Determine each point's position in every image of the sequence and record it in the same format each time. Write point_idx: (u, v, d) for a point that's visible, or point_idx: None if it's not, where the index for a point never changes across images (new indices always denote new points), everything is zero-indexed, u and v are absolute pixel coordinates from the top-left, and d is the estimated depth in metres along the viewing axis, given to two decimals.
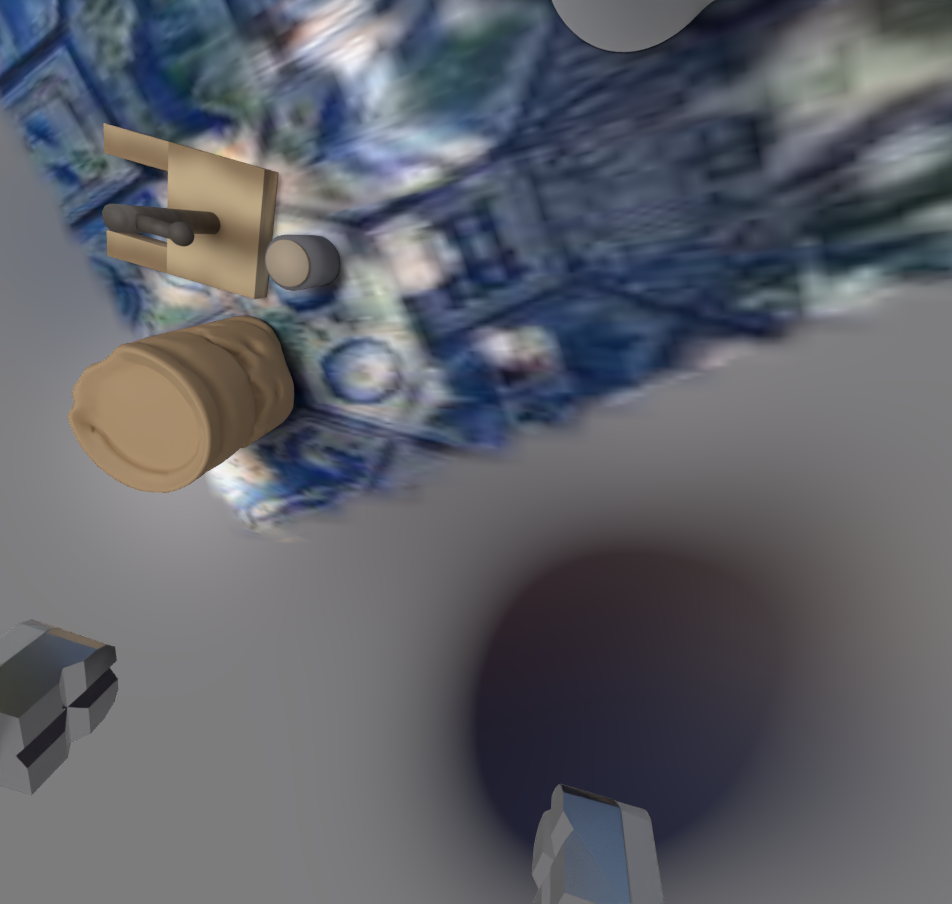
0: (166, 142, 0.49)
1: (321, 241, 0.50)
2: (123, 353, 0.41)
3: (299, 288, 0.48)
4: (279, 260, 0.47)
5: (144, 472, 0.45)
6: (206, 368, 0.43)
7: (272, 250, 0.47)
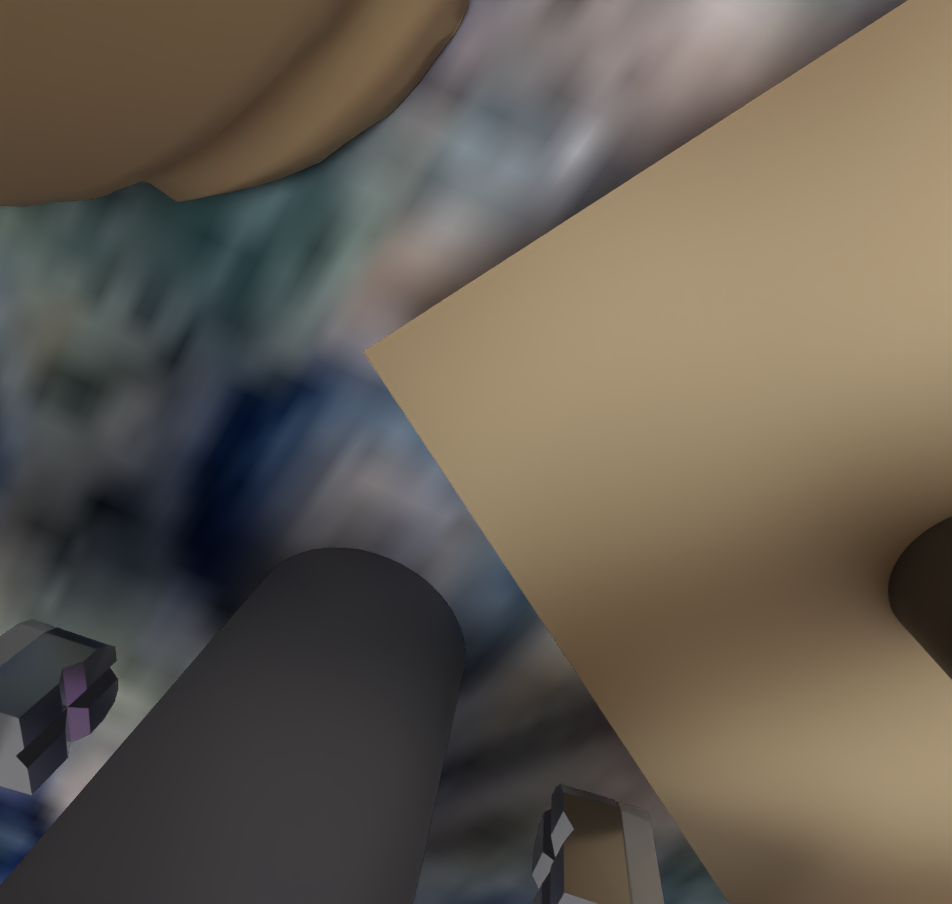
0: None
1: None
2: None
3: None
4: None
5: None
6: None
7: None
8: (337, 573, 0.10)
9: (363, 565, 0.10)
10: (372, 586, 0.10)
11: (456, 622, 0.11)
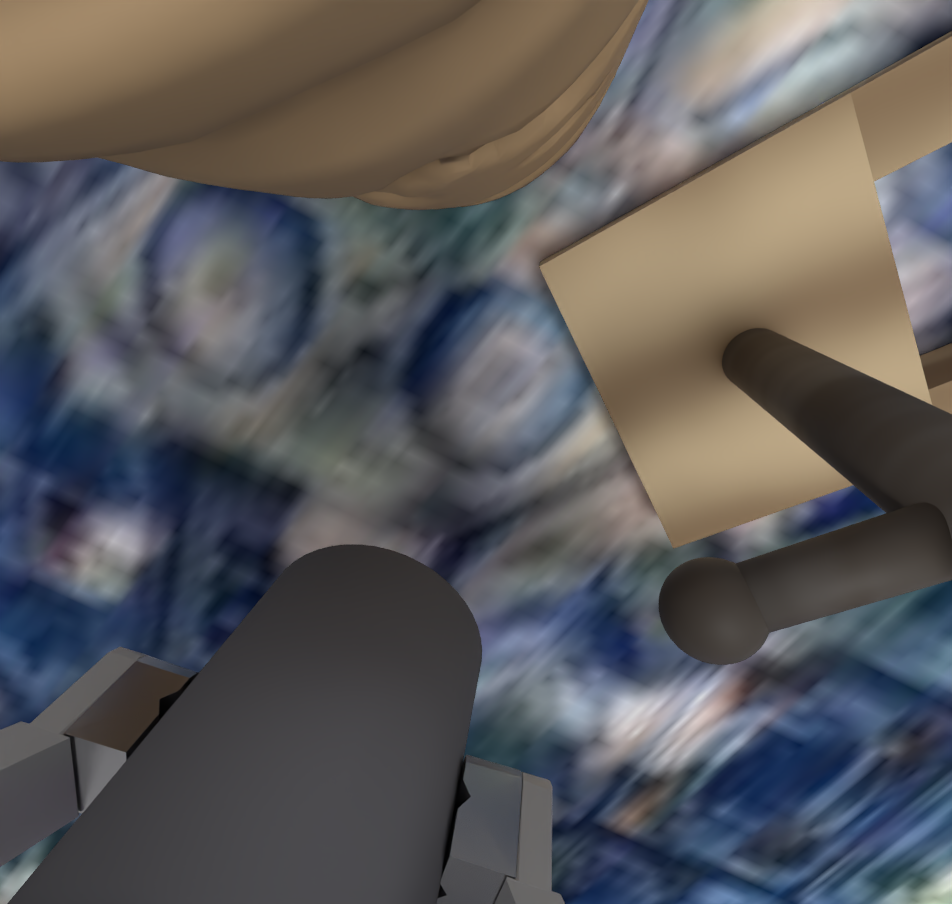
0: None
1: None
2: None
3: None
4: None
5: None
6: (149, 162, 0.06)
7: None
8: (355, 570, 0.10)
9: (381, 562, 0.10)
10: (391, 583, 0.09)
11: (473, 620, 0.11)
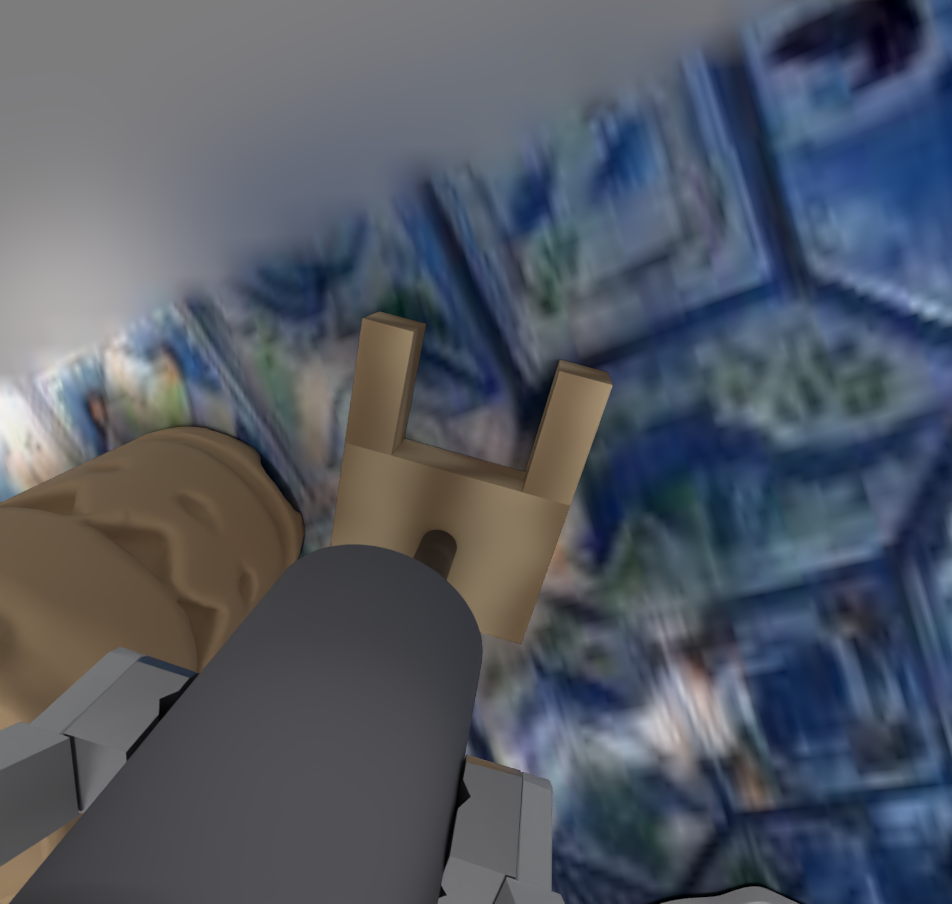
0: (569, 501, 0.26)
1: None
2: None
3: None
4: None
5: None
6: None
7: None
8: (356, 569, 0.10)
9: (383, 562, 0.10)
10: (392, 583, 0.09)
11: (474, 620, 0.11)
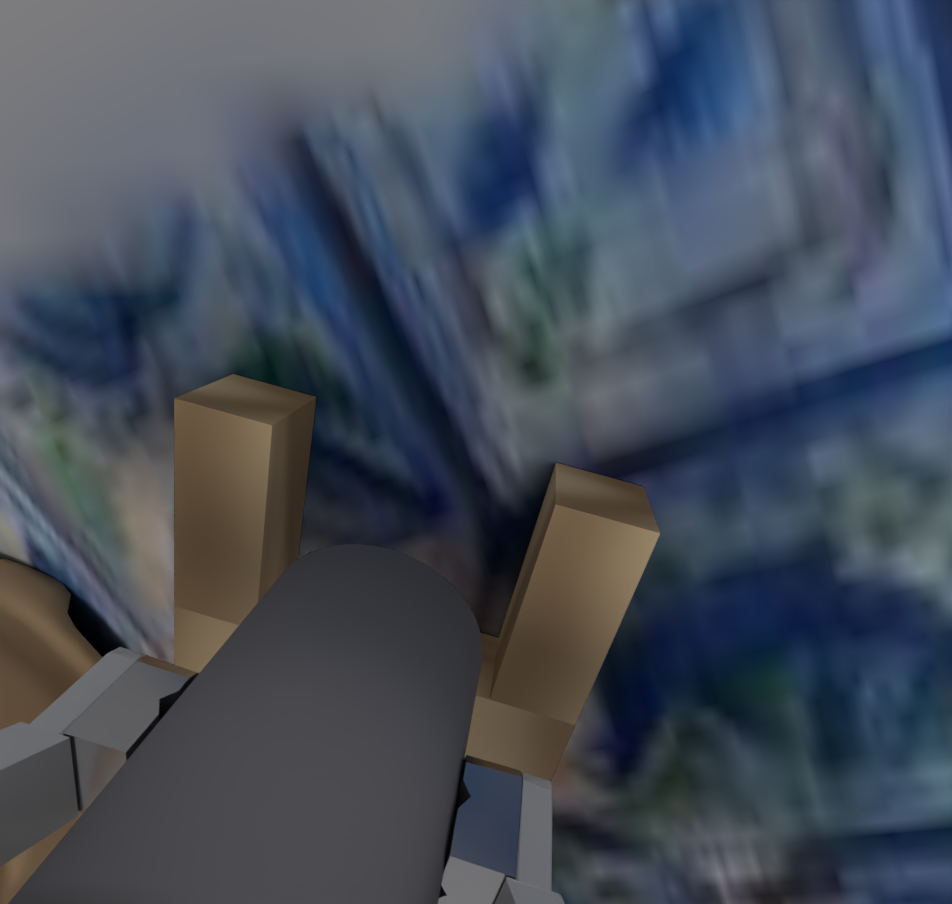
0: (574, 717, 0.15)
1: None
2: None
3: None
4: None
5: None
6: None
7: None
8: (356, 569, 0.10)
9: (382, 562, 0.10)
10: (392, 583, 0.09)
11: (474, 620, 0.11)
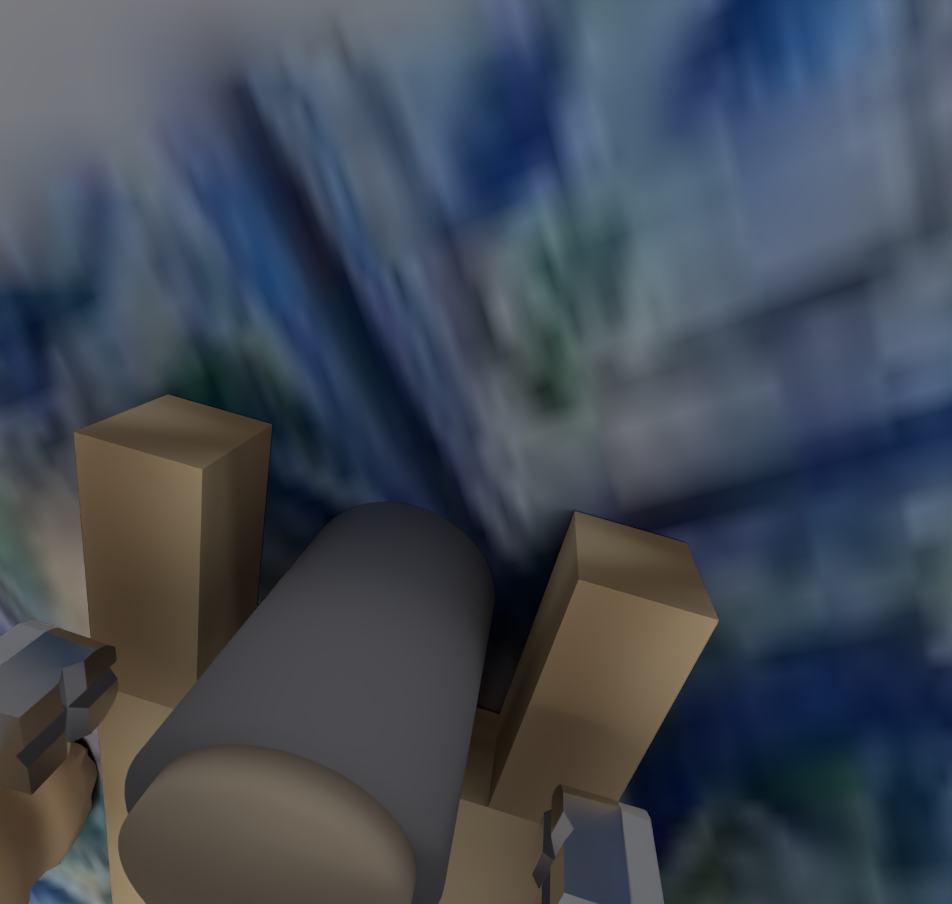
0: None
1: None
2: None
3: (134, 773, 0.07)
4: (305, 888, 0.07)
5: None
6: None
7: None
8: (389, 521, 0.11)
9: (410, 515, 0.12)
10: (419, 531, 0.11)
11: (488, 568, 0.12)
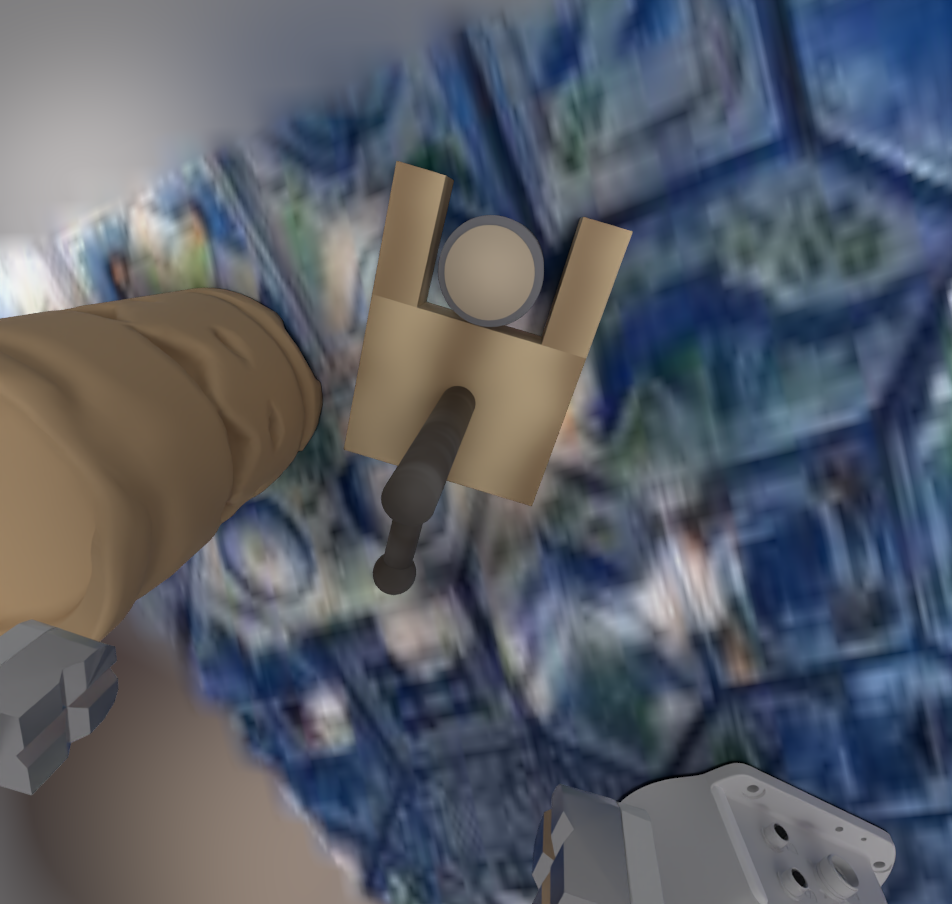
0: (585, 353, 0.28)
1: None
2: (101, 535, 0.17)
3: (446, 246, 0.23)
4: (504, 268, 0.23)
5: None
6: (148, 591, 0.22)
7: (525, 273, 0.23)
8: None
9: None
10: None
11: (541, 250, 0.28)
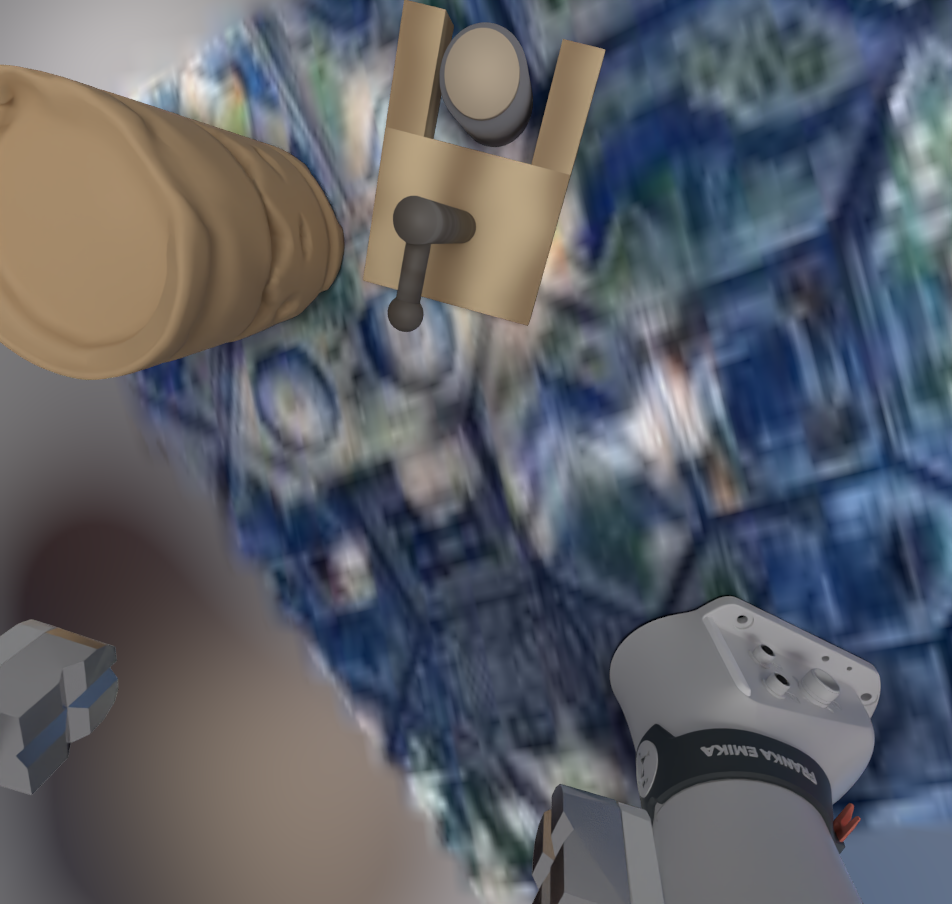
0: (569, 170, 0.32)
1: (495, 140, 0.33)
2: (175, 235, 0.22)
3: (445, 55, 0.28)
4: (494, 67, 0.27)
5: None
6: (205, 334, 0.27)
7: (511, 70, 0.27)
8: None
9: None
10: None
11: None
